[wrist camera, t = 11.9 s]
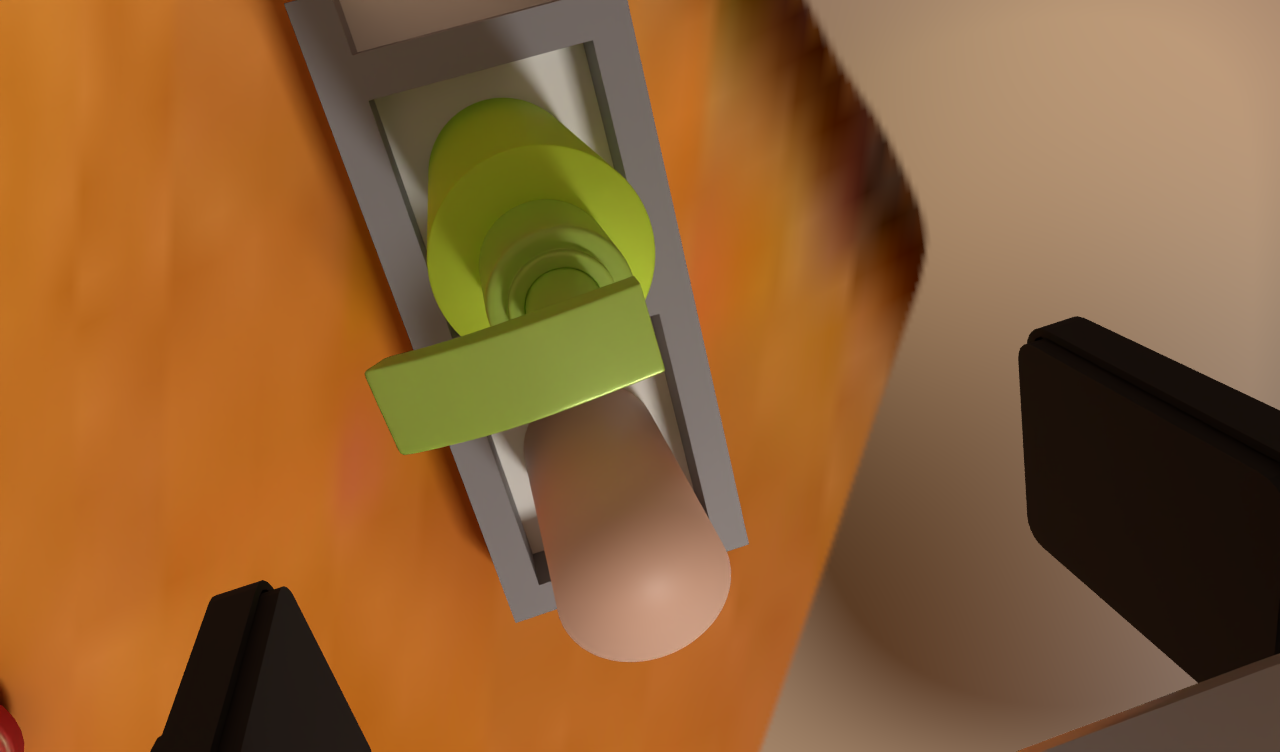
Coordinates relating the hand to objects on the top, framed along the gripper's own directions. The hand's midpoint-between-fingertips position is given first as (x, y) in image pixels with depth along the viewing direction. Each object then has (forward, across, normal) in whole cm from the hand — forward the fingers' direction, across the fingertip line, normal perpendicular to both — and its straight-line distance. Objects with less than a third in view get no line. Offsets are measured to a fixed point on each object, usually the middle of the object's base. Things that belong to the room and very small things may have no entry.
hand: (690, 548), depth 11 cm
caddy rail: (+27, 0, +5) cm, 28 cm away
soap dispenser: (+27, 0, 0) cm, 27 cm away
